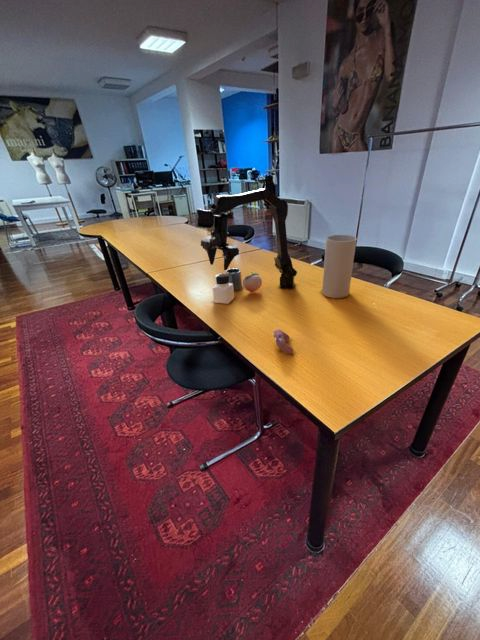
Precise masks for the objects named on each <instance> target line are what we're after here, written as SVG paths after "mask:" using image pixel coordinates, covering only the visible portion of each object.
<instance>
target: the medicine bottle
mask: <svg viewBox="0 0 480 640" xmlns="http://www.w3.org/2000/svg"><path fill="white" fill-rule="evenodd" d="M214 280H215V285H214V286H213V287H212V295H213V302H214V303H216V304H217V303H218V304H223V305H224V304H226V305H229V304H230V303H231V302H232V301H233V300H234V299H235V291H234V288H233V284H231V283H229V276H228V275H227V274H226V273H218V274H215V276H214Z"/></svg>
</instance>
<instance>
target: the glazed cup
mask: <svg viewBox="0 0 480 640" xmlns="http://www.w3.org/2000/svg"><path fill="white" fill-rule="evenodd" d="M225 274H227V275H228V276H229V283H231V284H233V288H234V292H237V291H238V292H239V291H241V290H242V289H243V281H242V269H240V268H236V267H235V268H227V270H225Z"/></svg>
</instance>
